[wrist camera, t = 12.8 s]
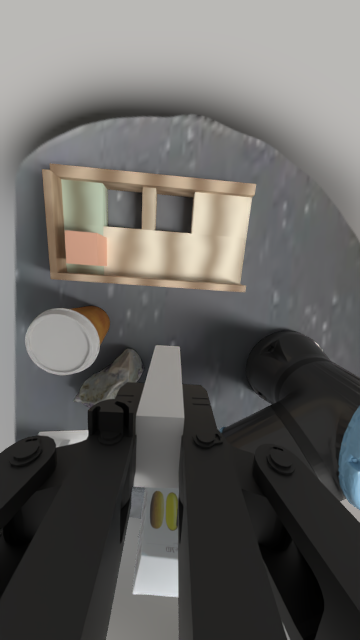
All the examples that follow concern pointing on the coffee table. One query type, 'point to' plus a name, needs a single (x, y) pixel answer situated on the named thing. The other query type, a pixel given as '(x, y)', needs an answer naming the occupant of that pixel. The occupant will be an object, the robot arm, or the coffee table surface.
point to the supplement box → (158, 544)
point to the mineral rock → (111, 379)
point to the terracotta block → (85, 248)
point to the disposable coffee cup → (66, 338)
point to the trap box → (149, 229)
